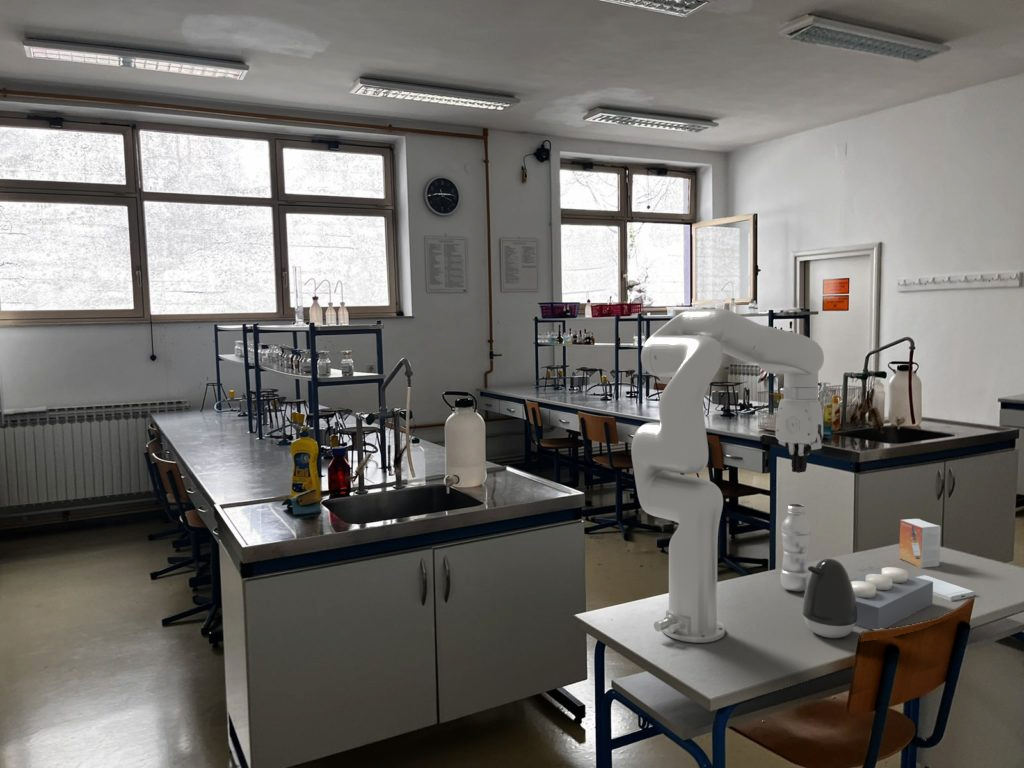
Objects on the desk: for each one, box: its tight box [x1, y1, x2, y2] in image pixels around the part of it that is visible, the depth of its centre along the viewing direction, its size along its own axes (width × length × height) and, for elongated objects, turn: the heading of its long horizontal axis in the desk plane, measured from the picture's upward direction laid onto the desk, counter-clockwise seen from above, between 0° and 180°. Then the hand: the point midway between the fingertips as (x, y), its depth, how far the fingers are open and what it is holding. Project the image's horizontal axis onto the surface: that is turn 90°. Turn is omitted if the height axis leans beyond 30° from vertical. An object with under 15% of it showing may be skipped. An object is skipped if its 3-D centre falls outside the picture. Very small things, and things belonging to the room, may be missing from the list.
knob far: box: [881, 566, 909, 584], centre depth 168 cm, size 5×5×6 cm
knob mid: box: [866, 574, 892, 592], centre depth 164 cm, size 5×5×6 cm
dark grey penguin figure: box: [801, 558, 857, 639], centre depth 151 cm, size 10×10×15 cm
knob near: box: [851, 581, 876, 599], centre depth 159 cm, size 5×5×6 cm
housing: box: [850, 567, 934, 630], centre depth 164 cm, size 24×12×5 cm, turn 128°
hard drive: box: [915, 574, 976, 602], centre depth 175 cm, size 2×8×12 cm
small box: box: [898, 518, 942, 569], centre depth 194 cm, size 8×6×10 cm
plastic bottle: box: [779, 503, 812, 592], centre depth 175 cm, size 6×7×20 cm
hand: (798, 471), depth 178 cm, fingers closed
